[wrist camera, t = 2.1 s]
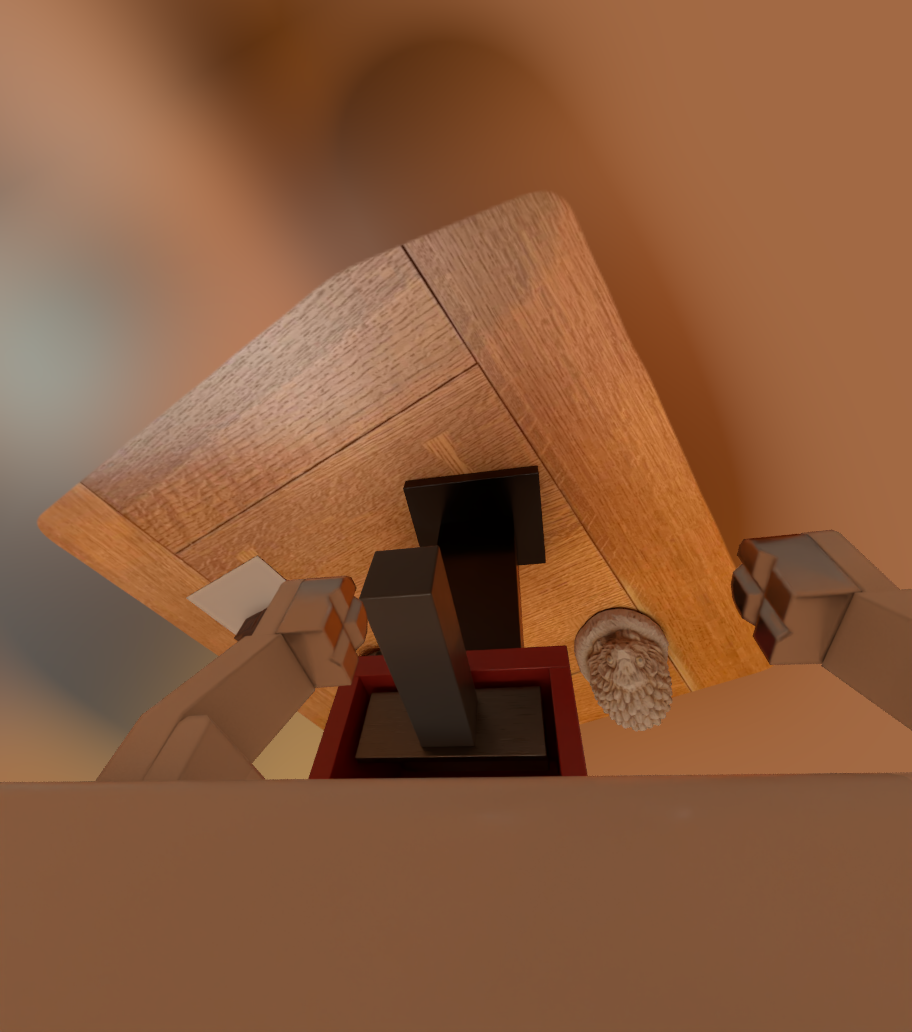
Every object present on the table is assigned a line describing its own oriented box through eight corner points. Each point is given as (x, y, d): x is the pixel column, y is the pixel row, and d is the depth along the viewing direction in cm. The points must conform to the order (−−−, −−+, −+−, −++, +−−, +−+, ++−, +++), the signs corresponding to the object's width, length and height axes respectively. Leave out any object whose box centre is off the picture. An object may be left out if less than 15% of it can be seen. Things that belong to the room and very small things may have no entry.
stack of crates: (257, 555, 55) (230, 595, 49) (338, 626, 62) (323, 668, 56) (186, 597, 61) (154, 637, 55) (267, 658, 67) (246, 699, 62)
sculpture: (662, 599, 54) (692, 669, 46) (668, 680, 63) (693, 750, 55) (565, 614, 57) (577, 683, 49) (583, 689, 66) (596, 758, 58)
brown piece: (304, 548, 21) (267, 614, 18) (522, 527, 19) (528, 595, 16) (407, 763, 33) (397, 828, 29) (548, 762, 31) (555, 830, 28)
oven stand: (405, 480, 47) (274, 880, 19) (537, 465, 45) (606, 892, 17) (428, 564, 54) (356, 951, 26) (544, 554, 51) (602, 966, 24)
